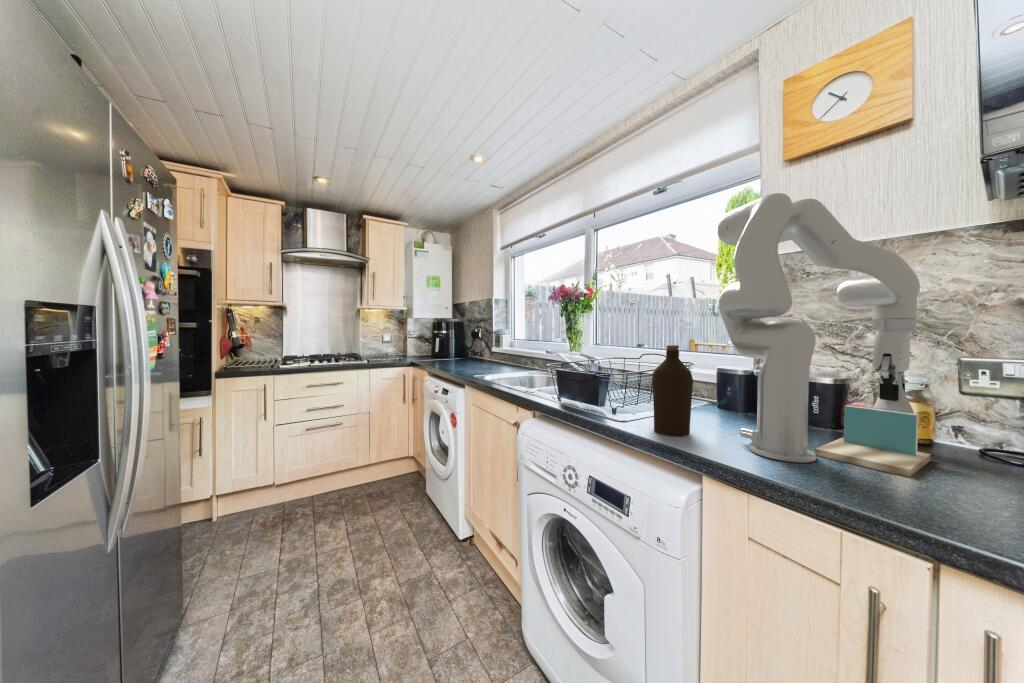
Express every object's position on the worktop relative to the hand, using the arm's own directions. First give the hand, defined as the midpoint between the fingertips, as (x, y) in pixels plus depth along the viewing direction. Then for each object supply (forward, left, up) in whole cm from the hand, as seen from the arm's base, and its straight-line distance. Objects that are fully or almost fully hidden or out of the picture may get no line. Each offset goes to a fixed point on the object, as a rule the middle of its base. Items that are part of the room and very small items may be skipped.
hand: (892, 398), depth 89 cm
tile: (0, -10, -11) cm, 15 cm away
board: (0, -15, -12) cm, 20 cm away
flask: (0, 0, -4) cm, 4 cm away
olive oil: (-37, -35, -13) cm, 53 cm away
